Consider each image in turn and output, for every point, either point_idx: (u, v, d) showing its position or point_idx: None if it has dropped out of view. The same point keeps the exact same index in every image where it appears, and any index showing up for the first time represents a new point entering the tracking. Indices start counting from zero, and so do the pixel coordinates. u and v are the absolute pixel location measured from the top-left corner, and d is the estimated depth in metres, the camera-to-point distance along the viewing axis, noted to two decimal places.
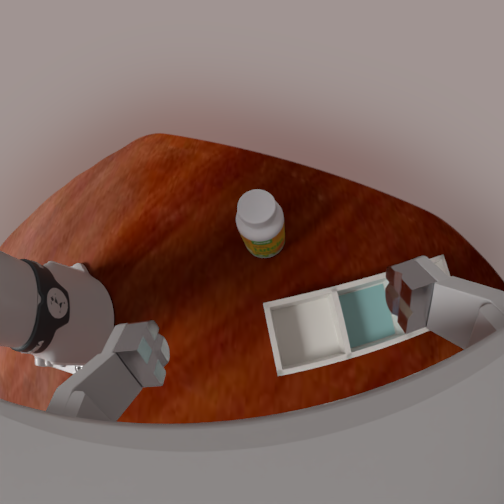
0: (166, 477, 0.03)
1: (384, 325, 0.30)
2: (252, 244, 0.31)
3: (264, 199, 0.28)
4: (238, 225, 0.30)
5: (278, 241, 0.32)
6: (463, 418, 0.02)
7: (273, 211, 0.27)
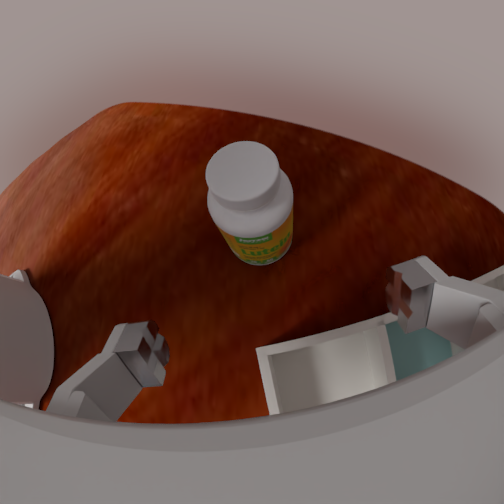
0: (166, 477, 0.03)
1: None
2: (237, 243, 0.18)
3: (257, 157, 0.14)
4: (210, 208, 0.16)
5: (283, 237, 0.18)
6: (463, 418, 0.02)
7: (274, 178, 0.14)
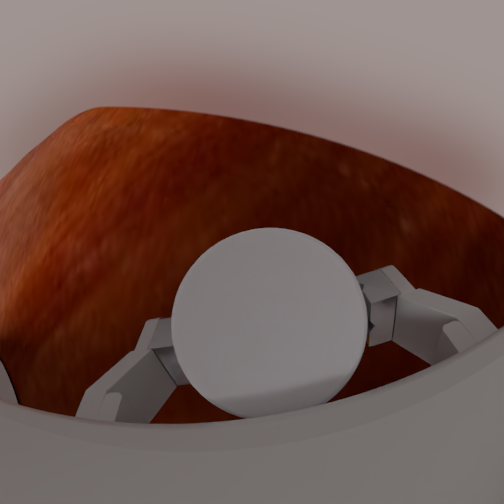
0: (166, 477, 0.03)
1: None
2: None
3: (311, 288, 0.05)
4: None
5: None
6: (463, 418, 0.02)
7: (356, 358, 0.05)
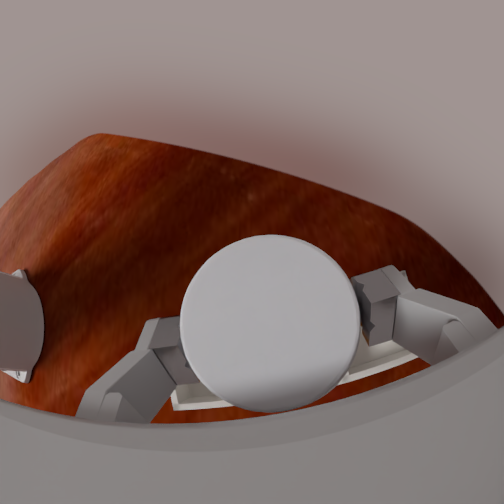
0: (166, 477, 0.03)
1: None
2: None
3: (308, 290, 0.06)
4: None
5: None
6: (463, 418, 0.02)
7: (350, 354, 0.05)
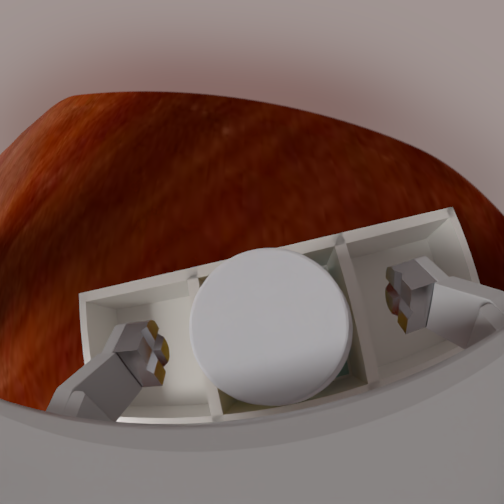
0: (166, 477, 0.03)
1: None
2: None
3: (303, 297, 0.06)
4: None
5: None
6: (463, 418, 0.02)
7: (340, 354, 0.06)
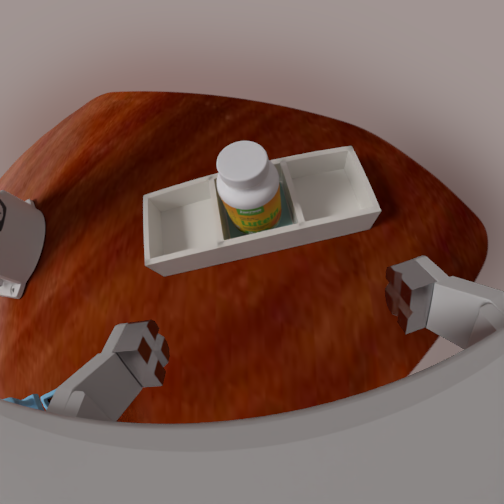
0: (166, 477, 0.03)
1: (281, 225, 0.29)
2: (238, 215, 0.24)
3: (252, 151, 0.20)
4: (219, 189, 0.22)
5: (272, 211, 0.24)
6: (463, 418, 0.02)
7: (264, 165, 0.20)
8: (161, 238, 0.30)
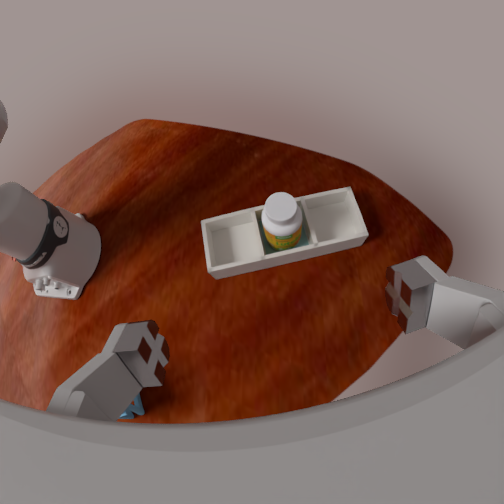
0: (166, 477, 0.03)
1: (300, 243, 0.41)
2: (275, 239, 0.36)
3: (287, 200, 0.33)
4: (264, 222, 0.35)
5: (297, 236, 0.37)
6: (463, 418, 0.02)
7: (295, 211, 0.32)
8: (214, 251, 0.42)
